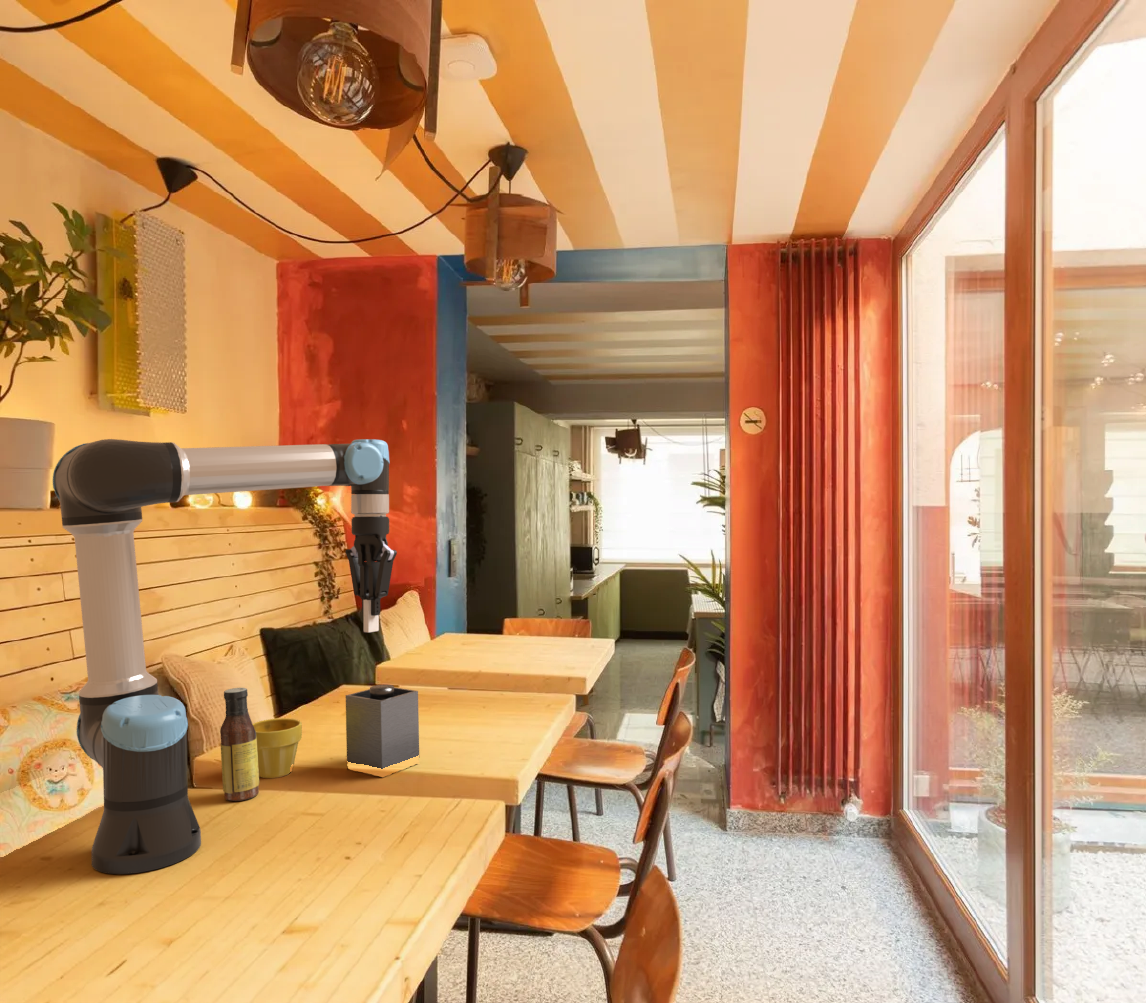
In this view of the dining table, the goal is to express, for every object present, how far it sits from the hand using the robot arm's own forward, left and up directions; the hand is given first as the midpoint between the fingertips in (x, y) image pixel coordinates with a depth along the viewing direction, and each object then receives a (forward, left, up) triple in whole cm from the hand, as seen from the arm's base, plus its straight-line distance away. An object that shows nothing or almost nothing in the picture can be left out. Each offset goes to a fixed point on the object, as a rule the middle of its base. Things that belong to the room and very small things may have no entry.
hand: (371, 631), depth 170 cm
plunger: (+1, -1, -25) cm, 25 cm away
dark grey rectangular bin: (+3, -1, -28) cm, 28 cm away
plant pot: (-13, +15, -28) cm, 34 cm away
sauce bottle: (-25, +9, -28) cm, 38 cm away
